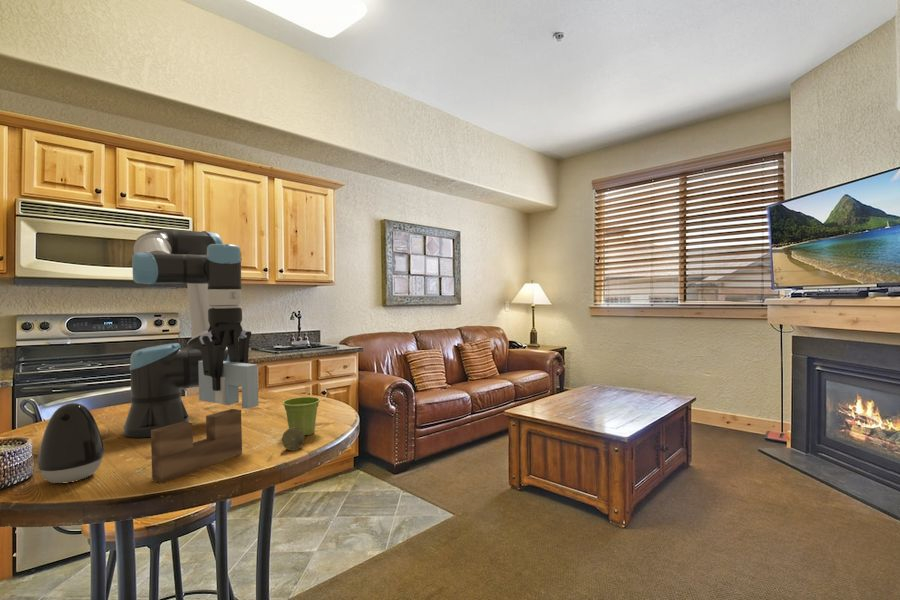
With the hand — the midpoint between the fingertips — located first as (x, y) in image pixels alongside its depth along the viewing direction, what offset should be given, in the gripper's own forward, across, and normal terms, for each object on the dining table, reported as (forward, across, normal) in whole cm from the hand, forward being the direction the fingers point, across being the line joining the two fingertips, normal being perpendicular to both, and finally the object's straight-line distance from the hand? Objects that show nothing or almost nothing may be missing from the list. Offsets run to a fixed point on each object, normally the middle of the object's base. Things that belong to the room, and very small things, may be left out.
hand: (227, 401), depth 111 cm
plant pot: (+10, +13, -12) cm, 20 cm away
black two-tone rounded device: (+10, -28, +9) cm, 31 cm away
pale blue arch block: (0, 0, 0) cm, 0 cm away
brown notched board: (+10, -13, -9) cm, 19 cm away
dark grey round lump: (+10, +3, -19) cm, 22 cm away
